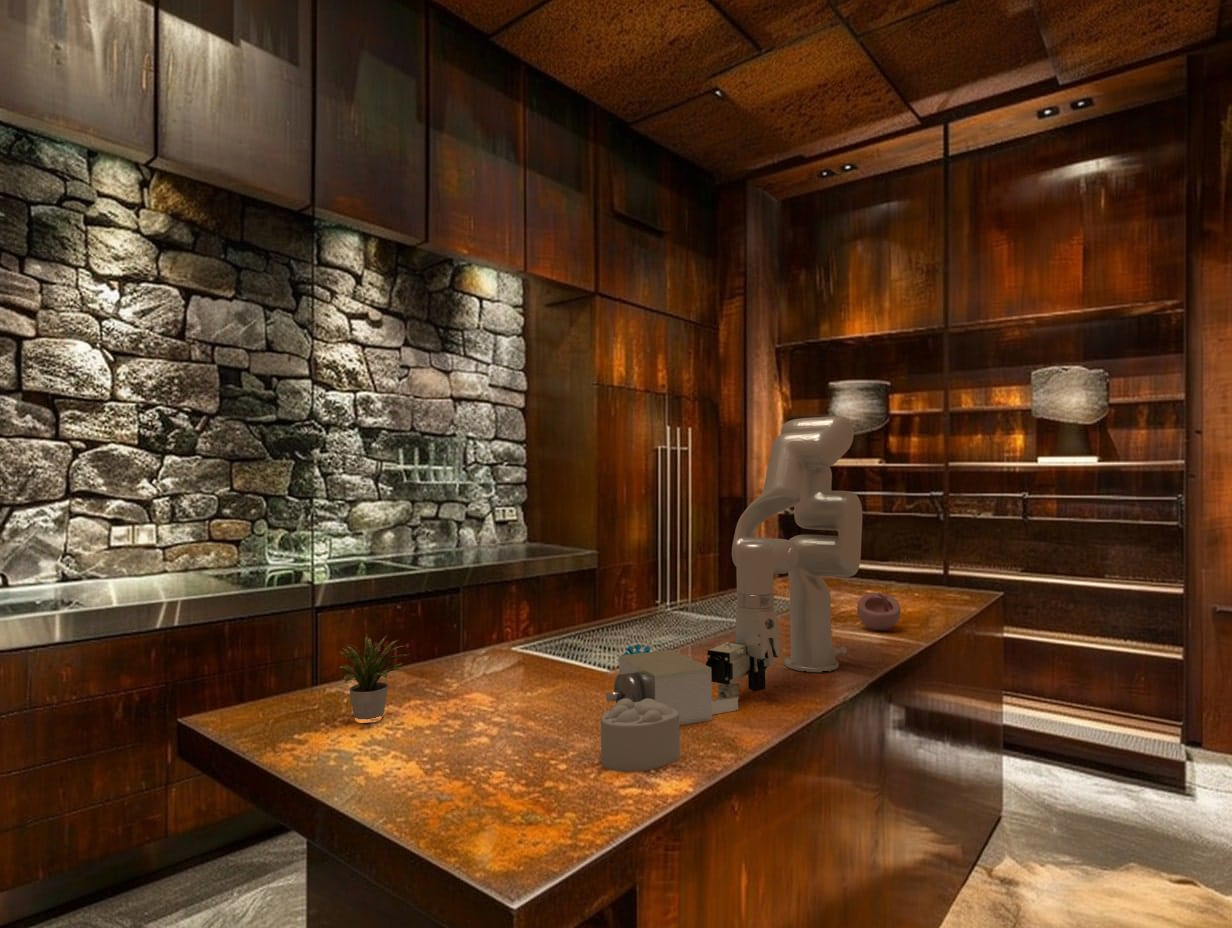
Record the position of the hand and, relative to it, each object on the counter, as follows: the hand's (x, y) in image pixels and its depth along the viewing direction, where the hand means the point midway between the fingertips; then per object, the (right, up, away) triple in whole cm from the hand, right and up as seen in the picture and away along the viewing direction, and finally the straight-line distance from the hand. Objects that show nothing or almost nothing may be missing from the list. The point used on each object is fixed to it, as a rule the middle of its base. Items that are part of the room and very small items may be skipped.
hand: (756, 689), depth 147 cm
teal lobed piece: (-23, -2, +13) cm, 27 cm away
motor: (-20, -2, -9) cm, 22 cm away
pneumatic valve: (-6, -2, -3) cm, 7 cm away
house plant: (-77, -2, -12) cm, 78 cm away
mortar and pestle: (+49, -3, +62) cm, 79 cm away
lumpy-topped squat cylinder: (-26, -2, -31) cm, 41 cm away
